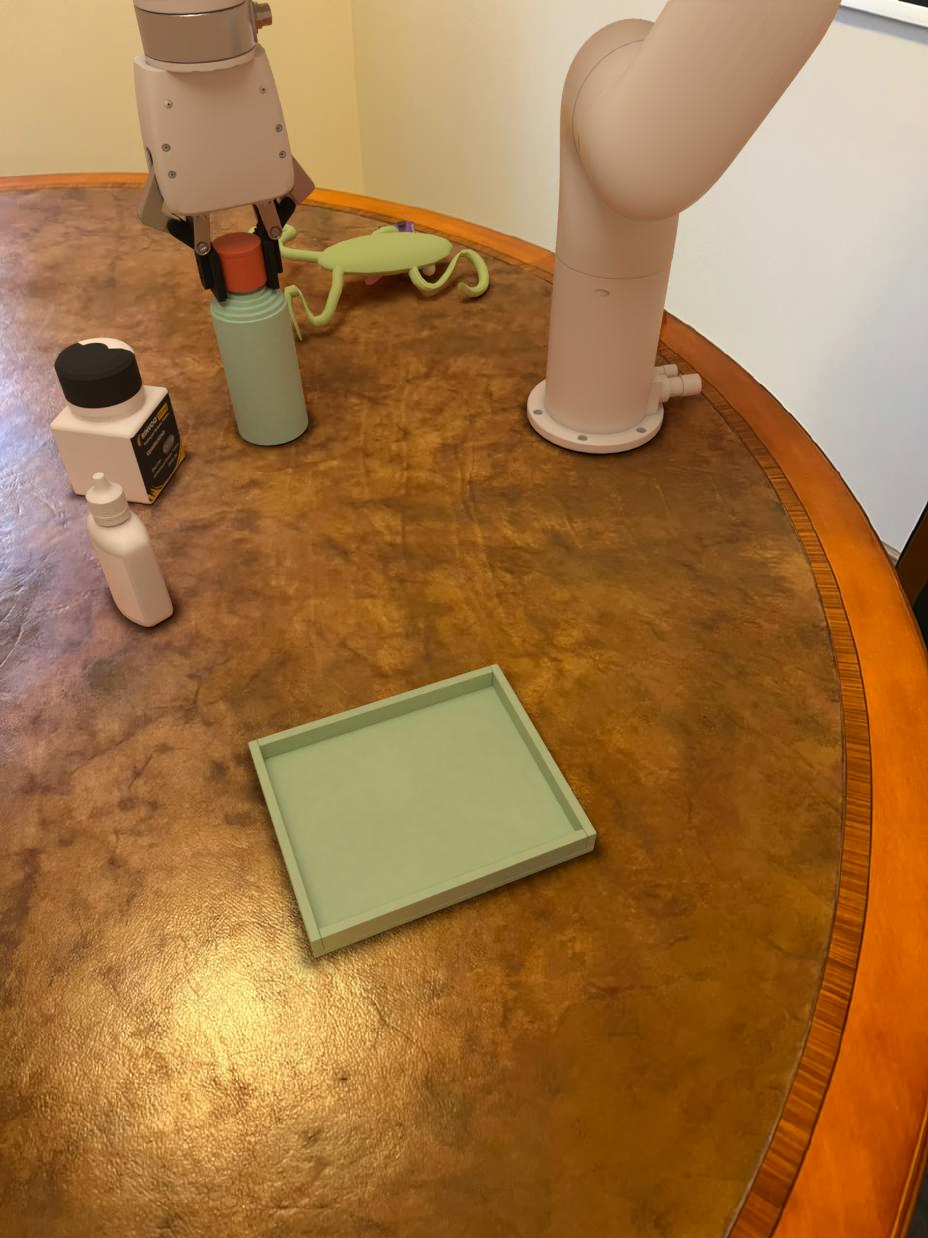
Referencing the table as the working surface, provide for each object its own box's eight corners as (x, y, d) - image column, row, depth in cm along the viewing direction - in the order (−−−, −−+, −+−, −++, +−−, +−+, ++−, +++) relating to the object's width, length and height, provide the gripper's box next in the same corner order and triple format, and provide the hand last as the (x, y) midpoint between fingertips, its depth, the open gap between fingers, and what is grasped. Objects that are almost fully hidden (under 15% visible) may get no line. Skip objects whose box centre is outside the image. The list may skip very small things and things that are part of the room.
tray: (496, 681, 64) (497, 662, 63) (593, 850, 55) (597, 833, 54) (252, 760, 60) (247, 742, 58) (314, 958, 51) (310, 942, 49)
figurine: (223, 274, 107) (214, 225, 103) (435, 231, 115) (434, 184, 111) (271, 349, 95) (263, 298, 91) (503, 295, 103) (505, 246, 99)
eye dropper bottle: (113, 636, 67) (61, 507, 59) (113, 584, 71) (65, 455, 62) (175, 625, 68) (132, 496, 59) (172, 574, 72) (132, 446, 63)
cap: (213, 276, 76) (204, 238, 74) (259, 265, 77) (251, 227, 75) (227, 296, 74) (218, 257, 72) (274, 284, 75) (267, 246, 73)
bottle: (304, 401, 88) (274, 228, 76) (311, 439, 84) (281, 262, 72) (236, 411, 87) (195, 237, 76) (240, 450, 83) (197, 272, 71)
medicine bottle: (152, 506, 78) (113, 380, 69) (74, 495, 79) (25, 370, 70) (187, 456, 82) (154, 332, 74) (112, 446, 83) (71, 323, 75)
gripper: (294, 3, 68) (322, 249, 81) (61, 34, 63) (132, 292, 76) (332, 29, 63) (356, 285, 76) (83, 64, 58) (155, 333, 71)
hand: (244, 286), depth 76 cm, fingers closed on cap, 3 cm apart
